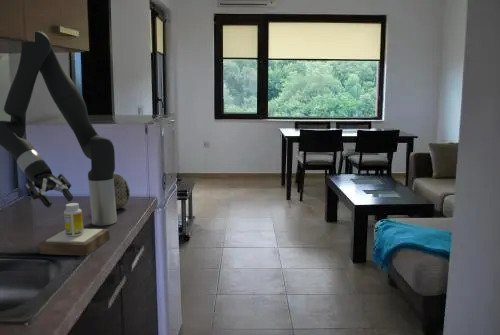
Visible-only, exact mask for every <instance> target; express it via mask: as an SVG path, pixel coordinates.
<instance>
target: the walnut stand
mask: <svg viewBox="0 0 500 335" xmlns="http://www.w3.org/2000/svg"><path fill="white" fill-rule="evenodd" d="M83 230H84V232H83V234H82V235H79V236H73V237H70V236H67V235H66V230H65V228H63V229H61V230H60V231H59V232H56V233H55V234H53V235H51V236H49V237H47V238H46V239H44V240H42V241H41V242H39V243H38V245H39V247H38V248H39V255H40V254H41V255H59V256H60V255H61V256H62V255H63V256H65V255H66V256H84V255H87V254H89V253H90V254H92V253H93V252H94V251H95V250H97V249H99V248H100V247H101V246H103V245H104V244H105V243H107V242H108V241H109V240H110V237H111V236H110V229H109V228H108V229H106V228H83ZM90 254H89V255H90ZM87 256H88V255H87Z"/></svg>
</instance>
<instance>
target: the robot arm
mask: <svg viewBox="0 0 500 335" xmlns="http://www.w3.org/2000/svg"><path fill="white" fill-rule="evenodd" d="M40 31H41V30H39V31H36V32H35V42H21V41H20V46H21V47H20V48H21V50H20V58H19V63H18V66H17V71H16V73H15V76H14V79H13V81H12V83H11V85H10V88H9V90H8V94H7V97H6V99H5V102H4V106H3V111H4V113H5V114H7V115H8V116H10V120H0V146H1V147H2V148H3V149H5V151H8V152H9V153H10V154H11V156H12V157H13V158H14V160H15V161H16V162H17V164H18V166H19V168H20V170H21V171H22V172H23V174H24V175H25V176H26V178H27V179H28V181H27V183H25V186H24V187H25V190H26V191H27V192H28V194H29V195H30V197H31V199H32V200H36V199H37V200H40V201H41V203H42V204H43V205H44V206H45V207H46V208H51V206H52V204H53V202H52V201H51V200H50V198H49V197H48V195H47V194H45V193H47V192H49V191H53V190H54V191H56V192H60V193H62V195H63V197H64V198H65V199H66V201H67V202H72V201H73V197H74V196H73V194H72V193H71V191H70V188H71V187H72V184H71V183H70V182H69V180H68V179H67V178H66V177H65V176H64V175H63V173H60V174H59V175H57V176H56V175H54V174H53V172H52V169H51V167H50V166H49V165H48V164H47V162H46V161H45V160H44V158H43V157H42V155H41V154H40V153H38V152H37V150H36V149H35V147H34V146H33V145H32V143H30V141H28V140H27V139H25V138H24V136H25V133H26V126H27V125H26V122H27V111H28V109H29V104H30V102H31V99H32V95H33V91H34V87H35V83H36V81H37V77H38V75H39V72H40V75H41V76H42V79H43V81H44V84H45V85H46V88H47V90H48V92H49V94H50V97H51V99H52V100H53V102H54V104H55V106H56V107H57V108H58V110H59V112H60V113H61V115H62V116H63V118H64V119H65V122H66V123H67V124H68V126H69V127H70V129H71V130H72V132H73V133H74V135H75V138H76V140H77V143H78V145H79V147H80V148H81V150H82V152H83V154H84V156H86V158H88V159H90V162H91V163H90V164H91V165H90V166H91V167H90V170H89V171H88V172H87V179H88V190H89V202H90V204H89V205H90V215H91V224H92V225H93V226H101V227H102V226H109V225H113V224H115V223H116V222H118V221H117V218H118V217H117V215H118V214H117V209H116V201H115V189H114V176H113V174H115V173H114V172H115V170H116V157H115V156H116V154H115V147H114V143H113V141H111V139H109V138H108V137H105V136H100V134H98V132H97V131H96V130H95V128H94V126H93V125H92V123H91V121H90V117H89V113H88V107H87V104H86V102H85V99H84V98H83V95H82V94H81V93H80V90H79V88H78V87H77V85H76V84H75V82H74V81H73V80H72V78H71V77H70V75H69V74H68V73H67V72H66V70H65V69H64V68H63V66H62V65H61V63H60V61H59V59H58V56H57V55H56V53H55V51H54V48H53V46H52V43H51V39H50V38H49V37H48V35H47V34H46V33H45V32H44V31H41V32H40ZM37 189H38V190H37Z"/></svg>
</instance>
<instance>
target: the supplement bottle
mask: <svg viewBox="0 0 500 335" xmlns="http://www.w3.org/2000/svg"><path fill="white" fill-rule="evenodd" d="M63 218H64V229H65V230H66V235H67V236H70V237H73V236H79V235H82V234H83V232H84V230H83V229H84V222H83V212H82V208H80V206H79V203H78V202H72V203H71V202H70V203H67V204H65V210H64V211H63Z"/></svg>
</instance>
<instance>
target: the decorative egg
mask: <svg viewBox="0 0 500 335" xmlns="http://www.w3.org/2000/svg"><path fill="white" fill-rule="evenodd" d="M113 176H114V189H115V201H116V210H120V209H123V208H124V207H125V206H127V204H128V202H129V200H130V196H131V194H130V192H131V191H130V187H129V184H128V181H127V180H126V179H125V178H124V177H123V176H122V175H120V174H118V173H117V174H116V173H114V174H113Z"/></svg>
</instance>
